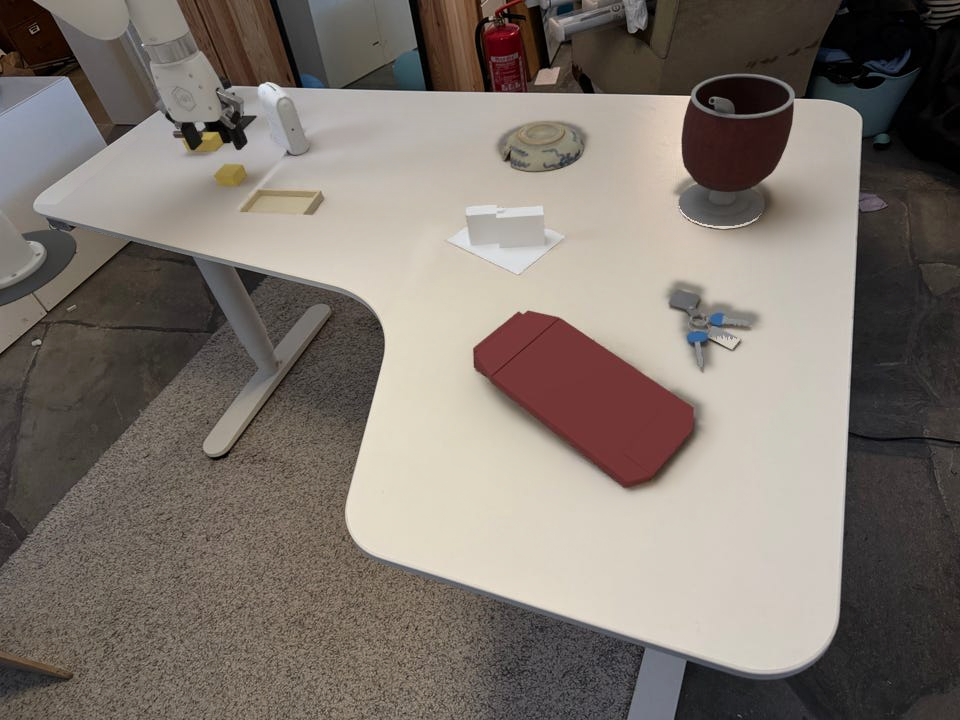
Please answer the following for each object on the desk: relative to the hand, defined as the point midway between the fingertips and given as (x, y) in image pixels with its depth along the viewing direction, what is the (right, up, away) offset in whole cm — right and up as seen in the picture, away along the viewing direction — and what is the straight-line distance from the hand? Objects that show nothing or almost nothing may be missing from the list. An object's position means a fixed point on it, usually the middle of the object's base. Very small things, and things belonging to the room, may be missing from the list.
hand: (219, 146), depth 110 cm
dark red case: (+59, -44, -40) cm, 83 cm away
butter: (-10, +5, +17) cm, 20 cm away
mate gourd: (+84, -16, -18) cm, 87 cm away
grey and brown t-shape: (-10, +12, +14) cm, 21 cm away
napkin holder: (+51, -20, -17) cm, 58 cm away
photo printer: (+9, +5, +14) cm, 17 cm away
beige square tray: (+12, -14, -5) cm, 19 cm away
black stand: (-8, +10, +22) cm, 25 cm away
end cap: (-15, +21, +33) cm, 41 cm away
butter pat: (+1, -5, +5) cm, 8 cm away
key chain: (+77, -35, -35) cm, 91 cm away
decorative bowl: (+59, -1, 0) cm, 59 cm away
